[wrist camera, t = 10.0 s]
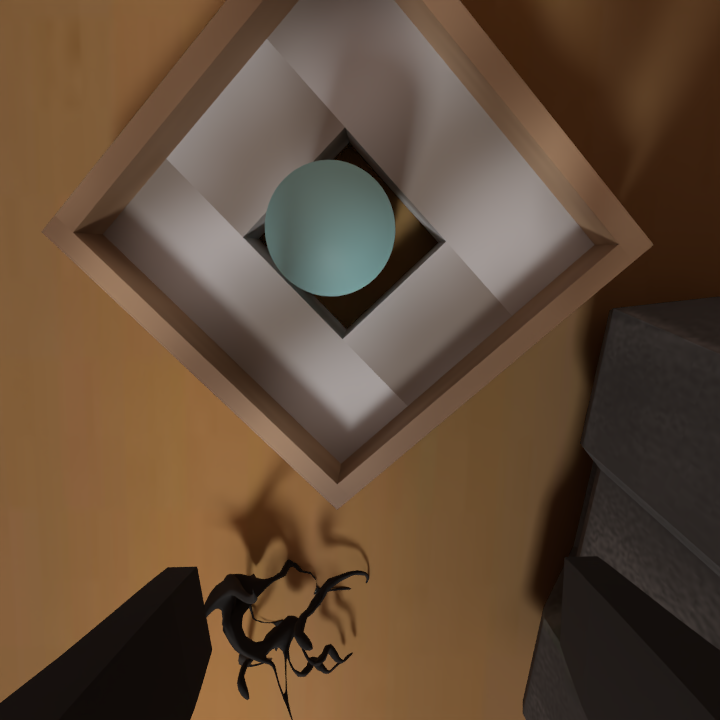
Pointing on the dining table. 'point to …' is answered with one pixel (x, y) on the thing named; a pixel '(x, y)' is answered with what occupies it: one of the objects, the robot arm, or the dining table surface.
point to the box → (403, 176)
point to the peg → (329, 228)
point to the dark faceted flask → (647, 480)
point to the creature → (238, 598)
